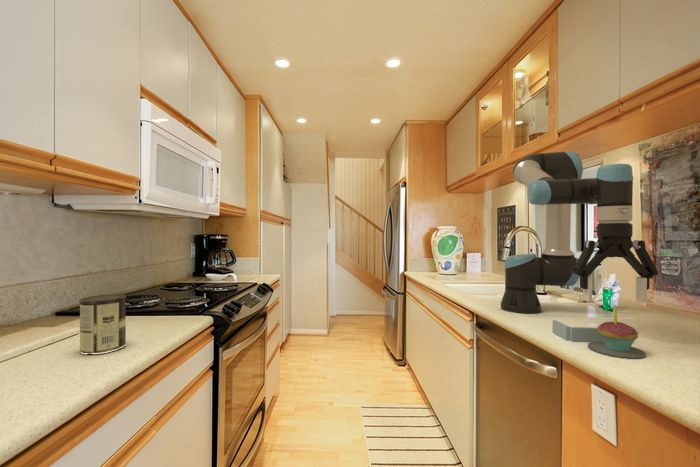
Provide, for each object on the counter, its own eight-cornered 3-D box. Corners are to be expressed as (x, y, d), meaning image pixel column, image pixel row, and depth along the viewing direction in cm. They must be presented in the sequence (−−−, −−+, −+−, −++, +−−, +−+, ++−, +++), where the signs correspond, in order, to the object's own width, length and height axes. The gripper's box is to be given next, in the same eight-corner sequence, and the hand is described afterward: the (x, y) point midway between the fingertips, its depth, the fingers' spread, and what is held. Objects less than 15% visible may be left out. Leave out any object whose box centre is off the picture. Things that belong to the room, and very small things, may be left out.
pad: (578, 343, 96) (578, 341, 96) (623, 344, 95) (623, 342, 95) (606, 358, 84) (606, 355, 84) (658, 359, 83) (658, 357, 83)
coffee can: (106, 341, 97) (107, 293, 98) (134, 344, 95) (135, 295, 95) (68, 353, 88) (69, 299, 88) (98, 357, 85) (99, 301, 85)
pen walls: (552, 332, 107) (552, 320, 107) (609, 334, 105) (609, 321, 105) (568, 341, 98) (568, 327, 98) (630, 343, 96) (630, 329, 96)
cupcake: (634, 356, 83) (633, 308, 84) (593, 348, 90) (593, 303, 90) (641, 349, 89) (640, 304, 89) (602, 341, 96) (601, 299, 96)
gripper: (573, 222, 87) (573, 303, 88) (676, 221, 85) (676, 305, 85) (558, 223, 95) (558, 297, 95) (652, 222, 93) (652, 299, 93)
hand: (614, 301), depth 90 cm, fingers open, 13 cm apart
